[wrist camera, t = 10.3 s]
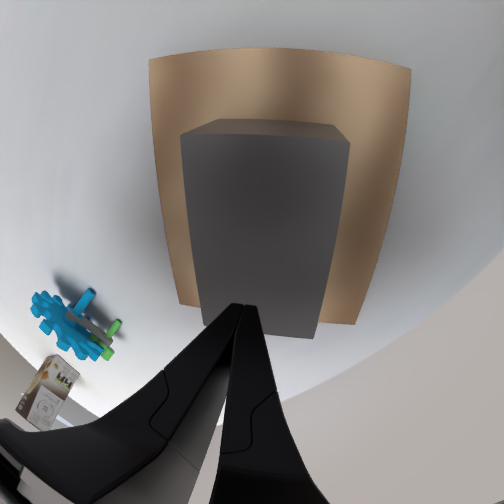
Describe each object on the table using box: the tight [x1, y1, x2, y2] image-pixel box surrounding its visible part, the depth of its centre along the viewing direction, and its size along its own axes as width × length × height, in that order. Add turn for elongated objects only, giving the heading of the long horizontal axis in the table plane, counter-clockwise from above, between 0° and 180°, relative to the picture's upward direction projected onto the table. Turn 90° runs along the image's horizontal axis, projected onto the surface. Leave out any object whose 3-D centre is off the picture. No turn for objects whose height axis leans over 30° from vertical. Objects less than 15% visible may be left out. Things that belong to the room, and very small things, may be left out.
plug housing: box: [180, 119, 350, 339], centre depth 14 cm, size 6×10×5 cm, turn 179°
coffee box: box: [16, 355, 79, 431], centre depth 36 cm, size 9×6×16 cm
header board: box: [149, 48, 411, 325], centre depth 15 cm, size 14×18×4 cm
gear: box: [30, 289, 122, 361], centre depth 24 cm, size 11×6×10 cm
